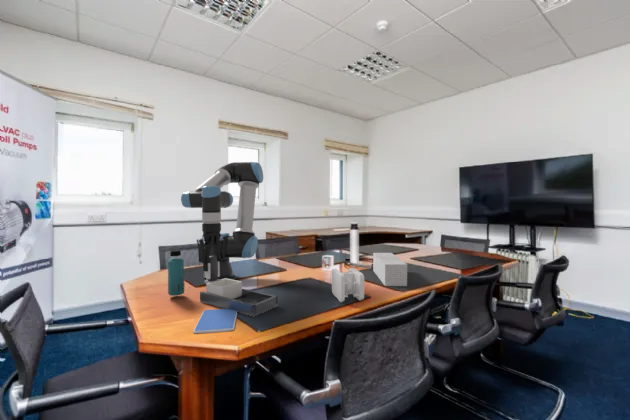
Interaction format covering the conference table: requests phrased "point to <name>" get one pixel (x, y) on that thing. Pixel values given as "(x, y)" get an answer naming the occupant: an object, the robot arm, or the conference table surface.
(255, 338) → the conference table surface
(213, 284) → the open tray with handle
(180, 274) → the beverage bottle
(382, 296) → the conference table surface
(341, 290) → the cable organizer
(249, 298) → the bay
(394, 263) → the grey rectangular block
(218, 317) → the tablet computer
